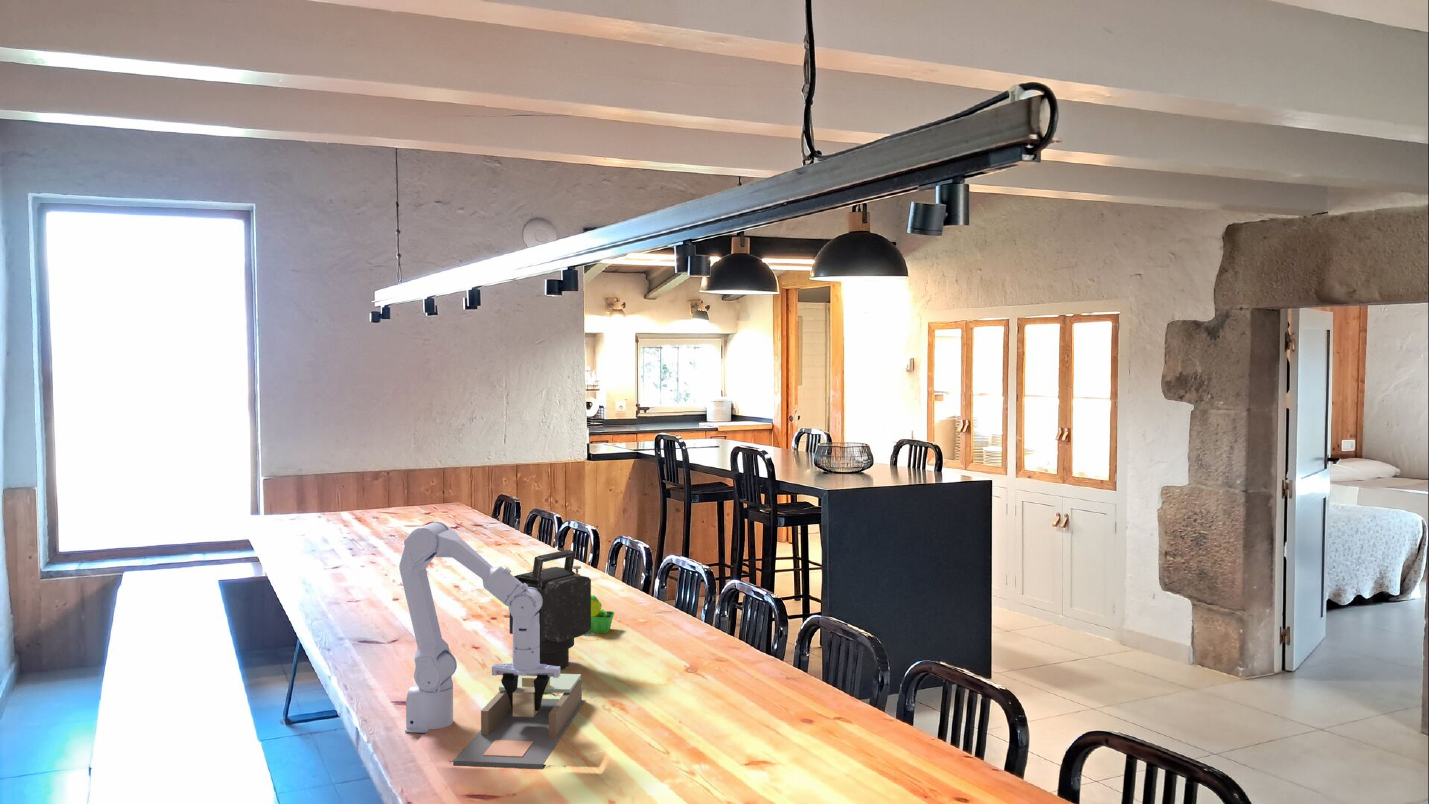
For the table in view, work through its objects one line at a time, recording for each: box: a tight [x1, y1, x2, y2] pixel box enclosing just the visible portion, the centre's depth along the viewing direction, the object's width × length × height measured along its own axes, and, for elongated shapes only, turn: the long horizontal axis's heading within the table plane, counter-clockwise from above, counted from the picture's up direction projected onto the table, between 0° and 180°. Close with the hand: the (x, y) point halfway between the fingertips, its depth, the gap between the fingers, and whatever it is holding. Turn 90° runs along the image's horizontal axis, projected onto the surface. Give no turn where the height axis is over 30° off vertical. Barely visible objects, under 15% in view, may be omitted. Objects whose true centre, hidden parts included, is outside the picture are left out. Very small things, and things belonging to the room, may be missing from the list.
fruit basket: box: [587, 594, 615, 634], centre depth 299 cm, size 11×9×11 cm
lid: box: [498, 673, 582, 694], centre depth 229 cm, size 16×11×3 cm
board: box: [452, 677, 586, 770], centre depth 216 cm, size 18×38×6 cm, turn 175°
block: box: [513, 687, 538, 717], centre depth 217 cm, size 4×4×5 cm
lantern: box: [509, 549, 592, 671], centre depth 263 cm, size 15×18×30 cm
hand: (526, 708), depth 217 cm, fingers closed on block, 4 cm apart
